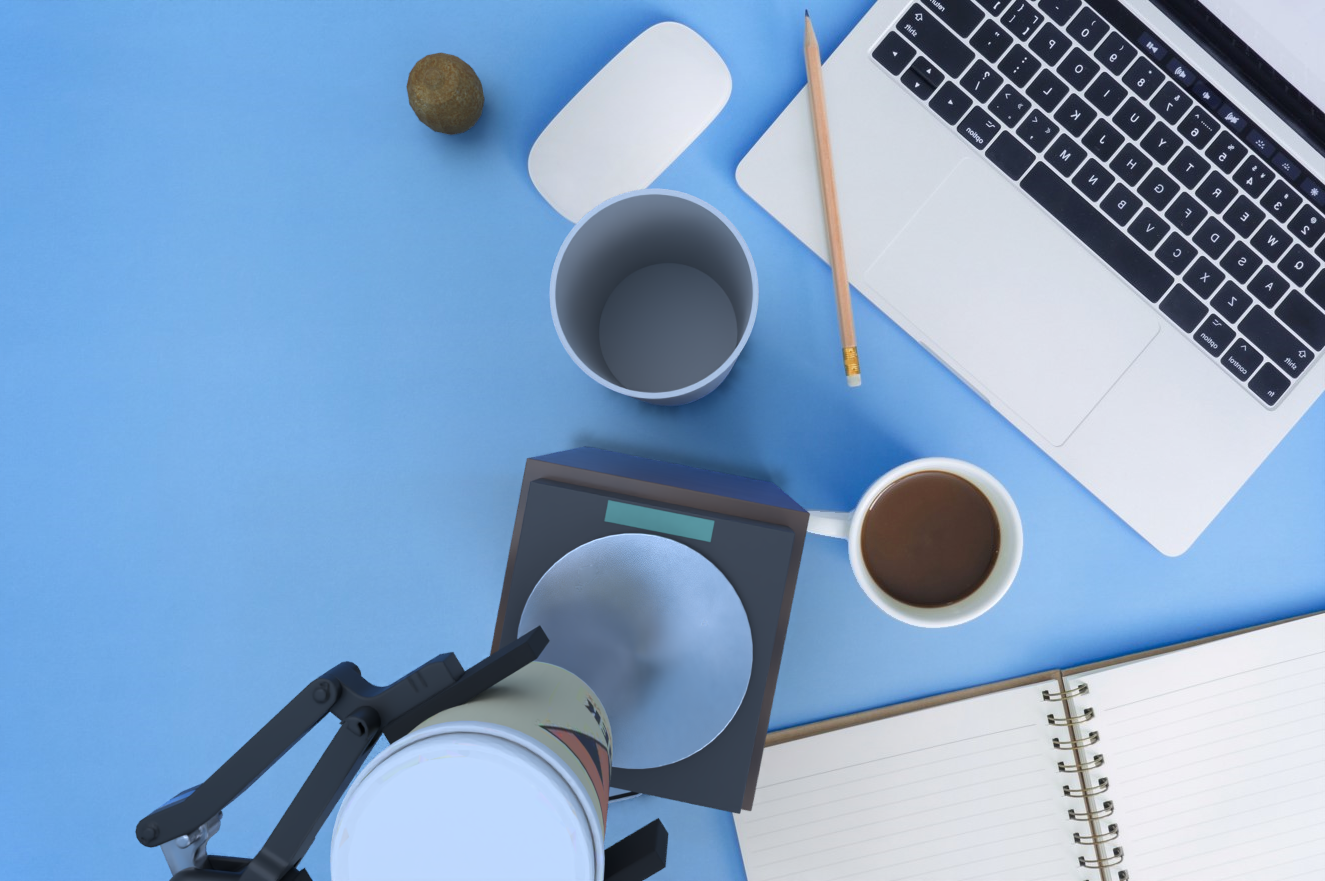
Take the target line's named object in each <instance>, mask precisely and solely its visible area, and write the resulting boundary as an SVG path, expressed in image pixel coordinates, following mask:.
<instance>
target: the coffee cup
mask: <svg viewBox="0 0 1325 881" xmlns="http://www.w3.org/2000/svg"><path fill="white" fill-rule="evenodd" d="M612 754H613V747H612V733H611V726H610V723H609V719H608V716H607V714H606V711H605V709H604V707H603V705H602V703H601V701H600V700H599V698H598V697H597V695H596V694H595V692H594V691H593V690H592V689H591V688H590V687H589V686H588V685H587V684H586V683H585V682H584V681H583V680H581V679H580V678H579V677H577V676H576V675H575V674H573V673H571V672H570V671H568V670H566V669H564V668H561V667H559V666H556V665H552V664H549V663H544V662H537V661H533V662H531V663H529V664H528V665H526V666H524V667H523V668H521V669H519V670H518V671H516V672H515V673H513V674H511V675H510V676H508V677H506V678H505V679H503V680H501V681H500V682H498V683H496V684H495V685H493V686H492V687H490V688H488V689H487V690H485V691H483V692H482V693H480V694H478V695H477V696H475V697H474V698H472V699H470V700H469V701H467V702H465V703H464V704H462V705H460V706H456V707H453V708H450V709H447V710H444V711H442V712H439V713H438V714H436V715H434V716H432V717H430V718H428V719H427V720H425V721H424V722H422V723H421V724H419V725H418V726H417V727H416V728H414V729H413V730H412V731H411V732H410V733H409V734H407V735H406V736H404V737H402V738H401V739H399V740H397V741H396V742H394V743H392V744H391V745H390V744H389V745H387V747H386V748H384V749H383V750H382V751H380V752H379V753H377V755H376V756H374V757H373V759H371V760H370V761H369V762H368V763H367V764H366V766H365V767H364V768H363V769H362V770H361V771H360V772H359V774H358V775H357V777H356V778H355V780H354V781H353V783H352V784H350V787H349V788H348V790H347V792H346V794H345V796H344V798H343V800H342V802H341V805H340V807H339V810H338V811H337V814H336V818H335V822H334V825H333V830H332V834H331V842H330V854H329V855H330V856H329V863H330V879H331V881H603V879H604V861H605V857H604V850H605V839H606V830H607V823H608V822H607V821H608V809H609V803H608V801H609V790H610V779H611V768H612Z"/></svg>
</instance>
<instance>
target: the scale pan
mask: <svg viewBox="0 0 1325 881" xmlns="http://www.w3.org/2000/svg"><path fill="white" fill-rule="evenodd" d="M539 625H540V626H541V627H542V629H543V631H544V632H545V634H546V635H547V637H548V639H549V640H550V641H549V643H548V644H547V646H546V647H545V648H544V650H543V651H542V653H541V654H540V655H539V657H538V658H537V659H536V660H534V661H537V662H544V663H549V664H552V665H556V666H559V667H561V668H564V669H566V670H568V671H570V672H571V673H573V674H575V675H576V676H577V677H579V678H580V679H581V680H583V681H584V682H585V683H586V684H587V685H588V686H589V687H590V688H591V689H592V690H593V691H594V692H595V694H596V695H597V697H598V698H599V700H600V701H601V703H602V705H603V707H604V709H605V711H606V714H607V716H608V719H609V723H610V726H611V733H612V747H613V754H612V767H618V768H625V769H646V768H655V767H660V766H664V765H668V764H672V763H675V762H677V761H680V760H682V759H685V758H687V757H689V756H691V755H693V754H694V753H696V752H698V751H700V750H701V749H702V748H704V747H705V746H706V745H708V744H709V743H710V742H712V741H713V740H714V739H715V738H716V737H717V736H718V735H719V734H720V733H721V732H722V731H723V730H724V729H725V728H726V726H727V725H728V724H729V723H730V721H731V720H732V719H733V717H734V716H735V714H736V712H737V710H738V709H739V707H740V705H741V703H742V701H743V698H744V696H745V693H746V691H747V688H748V684H749V680H750V677H751V670H752V663H753V642H752V635H751V628H750V624H749V621H748V617H747V613H746V610H745V608H744V606H743V603H742V601H741V599H740V597H739V595H738V593H737V591H736V590H735V588H734V586H733V585H732V583H731V582H730V581H729V579H728V578H727V577H726V576H725V574H724V573H723V572H722V571H721V570H720V569H719V568H718V567H717V566H716V565H715V564H714V563H713V562H712V561H711V560H710V559H708V558H707V557H706V556H704V555H703V554H702V553H700V552H699V551H697V550H696V549H694V548H692V547H690V546H689V545H687V544H685V543H682V542H680V541H678V540H675V539H673V538H669V537H666V536H662V535H658V534H652V533H644V532H623V533H616V534H610V535H606V536H602V537H599V538H595V539H593V540H590V541H588V542H586V543H583V544H581V545H579V546H578V547H576V548H574V549H573V550H571V551H569V552H568V553H567V554H565V555H564V556H563V557H561V558H560V559H559V560H557V561H556V562H555V563H554V564H553V565H552V566H551V567H550V568H549V569H548V570H547V571H546V572H545V573H544V575H543V576H542V577H541V579H540V580H539V581H538V583H537V584H536V585H535V587H534V589H533V591H532V592H531V594H530V596H529V598H528V600H527V602H526V605H525V607H524V610H523V612H522V615H521V619H520V623H519V627H518V634H517V639H518V638H520V637H521V636H523V635H525V634H526V633H528V632H529V631H531V630H533V629H534V628H536V627H538V626H539Z"/></svg>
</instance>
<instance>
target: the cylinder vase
mask: <svg viewBox="0 0 1325 881" xmlns="http://www.w3.org/2000/svg"><path fill="white" fill-rule="evenodd" d="M549 281H550V282H549V306H550V314H551V319H552V322H553V325H554V329H555V332H556V334H557V337H558V339H559V341H560V343H561V344H562V346H563V348H564V350H565V352H566V353H567V354H568V356H569V357H570V359H571V360H572V361H573V362H574V364H575V365H576V366H577V367H578V368H579V369H580V370H581V371H582V372H583V373H585V374H586V375H587V376H588V377H589V378H591V379H592V380H593V381H595V382H596V383H598V384H600V385H601V386H603V387H605V388H607V389H609V390H611V391H614V392H616V393H619V394H621V395H624V396H627V397H630V398H632V399H635V400H637V401H640V402H643V403H646V404H650V405H654V406H658V407H659V406H661V407H676V406H683V405H687V404H691V403H694V402H696V401H699V400H701V399H703V398H704V397H706V396H708V395H709V394H710V393H712V392H713V391H715V390H716V389H717V388H718V387H719V386H721V384H722V383H723V382H724V381H725V380H726V378H727V377H728V376H729V374H730V372H731V371H732V369H733V367H734V365H735V364H736V362H737V361H738V359H739V357H740V355H741V353H742V352H743V349H744V348H745V346H746V344H747V342H748V340H749V338H750V336H751V334H752V331H753V328H754V326H755V322H756V318H757V314H758V308H759V300H760V299H759V296H760V293H759V290H760V288H759V278H758V271H757V267H756V263H755V261H754V258H753V254H752V253H751V250H750V248H749V245H748V243H747V242H746V240H745V239H744V237H743V235H742V233H741V232H740V231H739V230H738V228H737V227H736V226H735V224H734V223H733V222H732V221H731V220H730V219H729V217H727V216H726V215H725V214H724V213H723V212H721V211H720V210H719V209H718V208H716V207H715V206H713V205H712V204H710V203H709V202H707V201H705V200H703V199H701V198H699V197H697V196H695V195H692V194H690V193H686V192H683V191H680V190H675V189H667V188H642V189H635V190H630V191H627V192H623V193H620V194H617V195H615V196H613V197H610V198H608V199H606V200H604V201H603V202H600V203H599V204H598V205H596V206H595V207H593V208H592V209H591V210H589V211H588V212H587V213H586V214H584V215H583V216H582V217H581V219H579V220H578V221H577V223H575V224H574V226H573V227H572V229H571V230H570V231H569V232H568V234H567V235H566V236H565V238H564V240H563V242H562V244H561V245H560V247H559V250H558V251H557V254H556V257H555V260H554V263H553V266H552V270H551V275H550V280H549Z"/></svg>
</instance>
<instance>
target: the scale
mask: <svg viewBox="0 0 1325 881" xmlns="http://www.w3.org/2000/svg"><path fill="white" fill-rule="evenodd" d="M623 532H644V533H652V534H658V535H662V536H666V537H669V538H673V539H675V540H678V541H680V542H682V543H685V544H687V545H689V546H690V547H692V548H694V549H696V550H697V551H699V552H700V553H702V554H703V555H704V556H706V557H707V558H708V559H710V560H711V561H712V562H713V563H714V564H715V565H716V566H717V567H718V568H719V569H720V570H721V571H722V572H723V573H724V574H725V576H726V577H727V578H728V579H729V581H730V582H731V583H732V585H733V586H734V588H735V590H736V591H737V593H738V595H739V597H740V599H741V601H742V603H743V606H744V608H745V610H746V613H747V617H748V621H749V624H750V628H751V635H752V642H753V663H752V670H751V677H750V680H749V684H748V688H747V691H746V693H745V696H744V698H743V701H742V703H741V705H740V707H739V709H738V710H737V712H736V714H735V716H734V717H733V719H732V720H731V721H730V723H729V724H728V725H727V726H726V728H725V729H724V730H723V731H722V732H721V733H720V734H719V735H718V736H717V737H716V738H715V739H714V740H713V741H712V742H710V743H709V744H708V745H706V746H705V747H704V748H702V749H701V750H700V751H698V752H696V753H694V754H693V755H691V756H689V757H687V758H685V759H682V760H680V761H677V762H675V763H672V764H668V765H664V766H660V767H655V768H646V769H625V768H618V767H612V768H611V779H610V787H613V788H618V789H622V790H627V791H632V792H637V793H642V794H641V795H647V796H651V797H656V798H657V797H658V798H661V799H666V800H670V801H676V802H679V803H680V802H681V803H686V804H691V805H694V806H699V807H704V808H709V809H715V810H719V811H723V812H728V813H733V814H737V815H740V814H741V812H742V809H741V808H742V803H743V798H744V793H745V788H746V782H747V777H748V772H749V767H750V762H751V757H752V752H753V747H754V742H755V737H756V732H757V726H758V721H759V716H760V711H761V706H762V701H763V696H764V691H765V686H766V681H767V676H768V671H769V665H770V660H771V655H772V650H773V645H774V640H775V635H776V630H777V625H778V620H779V615H780V609H781V604H782V599H783V594H784V589H785V584H786V579H787V574H788V569H789V564H790V559H791V554H792V548H793V543H794V538H795V533H794V531H793V530H792V529H791V528H790V527H789V526H784V525H779V524H774V523H769V522H763V521H758V520H753V519H748V518H743V517H738V516H733V515H728V514H723V513H717V512H712V511H707V510H702V509H697V508H692V507H687V506H682V505H677V504H671V503H666V502H661V501H656V500H651V499H646V498H641V497H636V496H631V495H625V494H620V493H615V492H610V491H605V490H600V489H595V488H590V487H584V486H579V485H574V484H569V483H564V482H559V481H554V480H549V479H544V478H539V479H536V480H533V481H531V482H530V486H529V491H528V496H527V502H526V507H525V512H524V518H523V523H522V528H521V534H520V539H519V544H518V550H517V555H516V560H515V566H514V571H513V576H512V582H511V587H510V592H509V598H508V603H507V608H506V614H505V619H504V624H503V630H502V635H501V640H500V646H499V650H500V649H502V648H503V647H505V646H507V645H508V644H510V643H512V642H513V641H515V640H516V639H517V634H518V627H519V623H520V619H521V615H522V612H523V610H524V607H525V605H526V602H527V600H528V598H529V596H530V594H531V592H532V591H533V589H534V587H535V585H536V584H537V583H538V581H539V580H540V579H541V577H542V576H543V575H544V573H545V572H546V571H547V570H548V569H549V568H550V567H551V566H552V565H553V564H554V563H555V562H556V561H557V560H559V559H560V558H561V557H563V556H564V555H565V554H567V553H568V552H569V551H571V550H573V549H574V548H576V547H578V546H579V545H581V544H583V543H586V542H588V541H590V540H593V539H595V538H599V537H602V536H606V535H610V534H616V533H623Z"/></svg>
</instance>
